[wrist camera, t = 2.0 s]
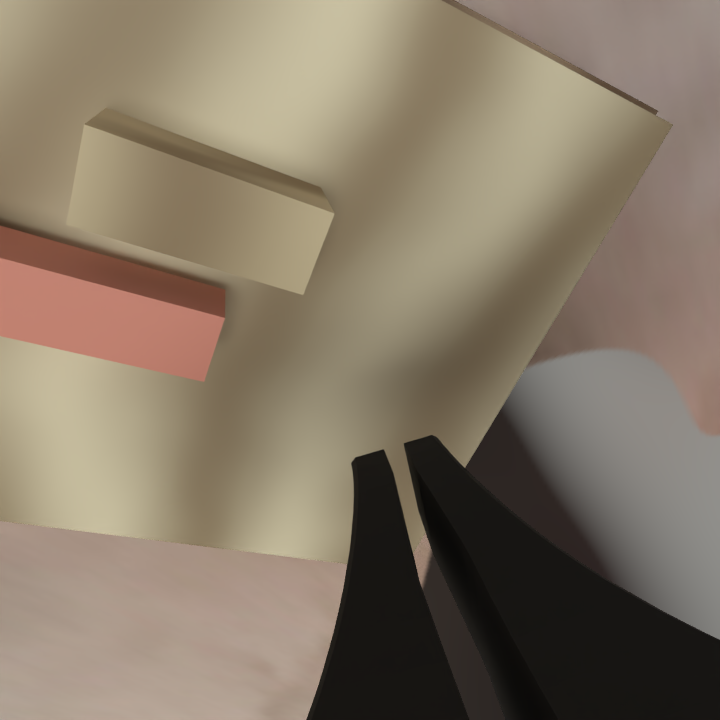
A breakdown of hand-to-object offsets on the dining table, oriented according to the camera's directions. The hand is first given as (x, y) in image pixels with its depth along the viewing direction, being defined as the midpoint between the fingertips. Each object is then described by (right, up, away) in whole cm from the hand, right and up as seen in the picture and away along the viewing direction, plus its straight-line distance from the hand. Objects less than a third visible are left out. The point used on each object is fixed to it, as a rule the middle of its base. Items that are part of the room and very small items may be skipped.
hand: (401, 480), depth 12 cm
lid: (-3, +4, +5) cm, 7 cm away
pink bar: (-9, +5, +1) cm, 10 cm away
